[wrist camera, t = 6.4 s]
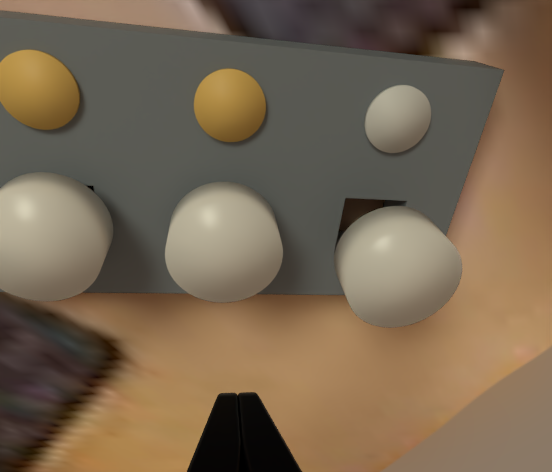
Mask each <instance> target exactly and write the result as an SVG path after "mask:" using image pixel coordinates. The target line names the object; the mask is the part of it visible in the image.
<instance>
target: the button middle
mask: <svg viewBox="0 0 552 472" xmlns="http://www.w3.org/2000/svg"><path fill="white" fill-rule="evenodd" d="M282 258H283V246H282V242H281V238H280V234H279V230H278V226H277V223H276V219H275V215H274V212H273V210H272V208H271V206H270V205H269V203H268V202H267V201H266V200H265V198H264V197H263V196H261V195H260V194H259V193H258V192H256V191H255V190H253V189H251V188H249V187H247V186H245V185H242V184H238V183H234V182H213V183H209V184H205V185H202V186H200V187H197V188H196V189H194V190H192V191H191V192H189V193H188V194H186V195H185V196H184V197H183V198H182V199H181V200H180V202H179V203H178V204H177V206H176V207H175V209H174V211H173V214H172V216H171V221H170V226H169V231H168V237H167V242H166V247H165V261H166V265H167V269H168V271H169V273H170V275H171V277H172V278H173V280H174V281H175V282H176V283H177V284H178V285H179V286H180V287H181V288H182V289H183V290H185V291H186V292H187V293H189V294H191V295H193V296H195V297H197V298H200V299H202V300H206V301H211V302H221V303H224V302H235V301H240V300H243V299H246V298H249V297H251V296H253V295H255V294H257V293H259V292H260V291H262V290H263V289H264V288H266V287H267V286H268V285H269V284H270V283H271V282H272V280H273V279H274V278H275V276H276V275H277V273H278V271H279V269H280V266H281V263H282Z"/></svg>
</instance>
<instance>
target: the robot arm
mask: <svg viewBox="0 0 552 472" xmlns="http://www.w3.org/2000/svg"><path fill="white" fill-rule="evenodd" d="M187 472H302V471H301V469H300V468H299V466H298V464H297V462H296V461H295V459H294V457H293V455H292V454H291V452H290V450H289V448H288V447H287V445H286V443H285V441H284V440H283V438H282V436H281V434H280V433H279V431H278V429H277V427H276V426H275V424H274V422H273V420H272V419H271V417H270V415H269V413H268V412H267V410H266V408H265V406H264V405H263V403H262V401H261V399H260V398H259V396H258V395H257V394H256V393H254V392H246V393H239V394H238V396H237V394H236V393H220V394H219V395H218V396H217V399H216V401H215V403H214V406H213V408H212V411H211V413H210V416H209V418H208V421H207V423H206V426H205V428H204V431H203V433H202V436H201V438H200V440H199V443H198V445H197V448H196V450H195V453H194V455H193V458H192V460H191V463H190V465H189V468H188V470H187Z"/></svg>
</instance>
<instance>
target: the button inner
mask: <svg viewBox="0 0 552 472" xmlns="http://www.w3.org/2000/svg"><path fill="white" fill-rule="evenodd" d="M112 238H113V223H112V219H111V216H110V213H109V211H108V209H107V207H106V206H105V204H104V203H103V201H102V200H101V199H100V198H99V197H98V195H96V194H95V193H94V192H93V191H92V190H91V189H90V188H88V187H87V186H85V185H84V184H82V183H80V182H79V181H77V180H74V179H72V178H70V177H67V176H64V175H60V174H56V173H48V172H35V173H28V174H24V175H20V176H18V177H16V178H13V179H12V180H10V181H8V182H7V183H6V184H5V185H4V186H2V187H1V188H0V289H2V290H3V291H5V292H7V293H10V294H12V295H15V296H18V297H21V298H24V299H29V300H35V301H58V300H63V299H67V298H71V297H73V296H76V295H78V294H80V293H82V292H83V291H85V290H86V289H87V288H88V287H89V286H91V285H92V284H93V282H94V281H95V280H96V278H97V276H98V274H99V272H100V270H101V267H102V265H103V262H104V260H105V257H106V255H107V252H108V250H109V247H110V245H111V242H112Z"/></svg>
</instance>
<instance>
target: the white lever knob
mask: <svg viewBox="0 0 552 472" xmlns="http://www.w3.org/2000/svg"><path fill="white" fill-rule="evenodd" d="M334 267H335V271H336V274H337V277H338V279H339V281H340V284H341V286H342V288H343V291H344V293H345V296H346V298H347V300H348V303H349V305H350V307H351V309H352V310H353V312H354V313H355V314H356V315H357V316H358V317H359V318H360V319H362V320H363V321H365V322H367V323H369V324H371V325H375V326H379V327H388V328H392V327H402V326H407V325H411V324H414V323H417V322H419V321H421V320H424V319H426V318H427V317H429V316H431V315H432V314H434V313H435V312H437V311H438V310H439V309H440V308H442V307H443V306H444V305H445V304H446V303H447V302H448V301H449V299H450V298H451V297H452V295H453V294H454V292H455V291H456V289H457V287H458V285H459V282H460V279H461V274H462V261H461V257H460V254H459V252H458V250H457V248H456V247H455V246H454V245H453V244H452V243H451V241H450V240H449V239H448V238H447V237H446V236H445V235H444V234H443V233H442V232H441V231H440V229H439V228H438V227H437V226H436V225H435V224H434V223H433V222H432V221H431V220H430V219H429V218H428V217H427V216H426V215H425V214H424V213H422V212H420V211H419V210H416V209H414V208H410V207H405V206H389V207H383V208H379V209H376V210H374V211H371V212H369V213H367V214H364V215H363V216H361V217H360V218H358V219H357V220H356V221H355V222H354V223H352V224H351V225H350V226H349V227H348V228H347V230H346V231H345V232H344V233H343V235H342V236H341V238H340V240H339V242H338V244H337V246H336V250H335V254H334Z"/></svg>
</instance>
